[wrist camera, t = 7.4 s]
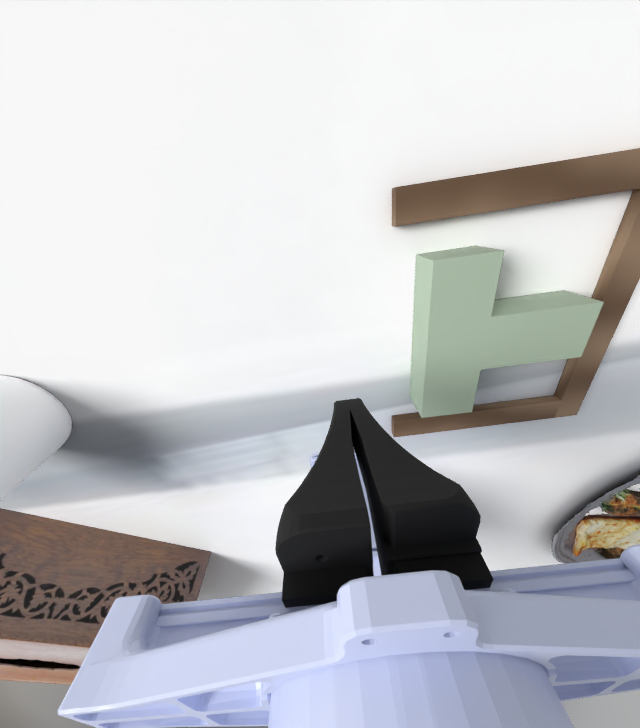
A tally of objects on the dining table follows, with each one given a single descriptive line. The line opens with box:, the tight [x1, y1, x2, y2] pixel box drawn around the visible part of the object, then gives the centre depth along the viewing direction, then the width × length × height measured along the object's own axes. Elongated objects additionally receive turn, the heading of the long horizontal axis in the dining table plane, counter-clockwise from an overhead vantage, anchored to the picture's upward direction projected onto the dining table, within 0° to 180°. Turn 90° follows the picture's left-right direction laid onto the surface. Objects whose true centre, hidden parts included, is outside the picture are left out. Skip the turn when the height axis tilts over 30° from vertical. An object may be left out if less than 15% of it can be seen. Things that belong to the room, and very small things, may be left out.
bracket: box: [392, 148, 640, 437], centre depth 20 cm, size 20×17×1 cm
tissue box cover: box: [0, 508, 211, 685], centre depth 31 cm, size 26×14×10 cm, turn 63°
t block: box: [410, 246, 604, 418], centre depth 19 cm, size 12×11×3 cm
